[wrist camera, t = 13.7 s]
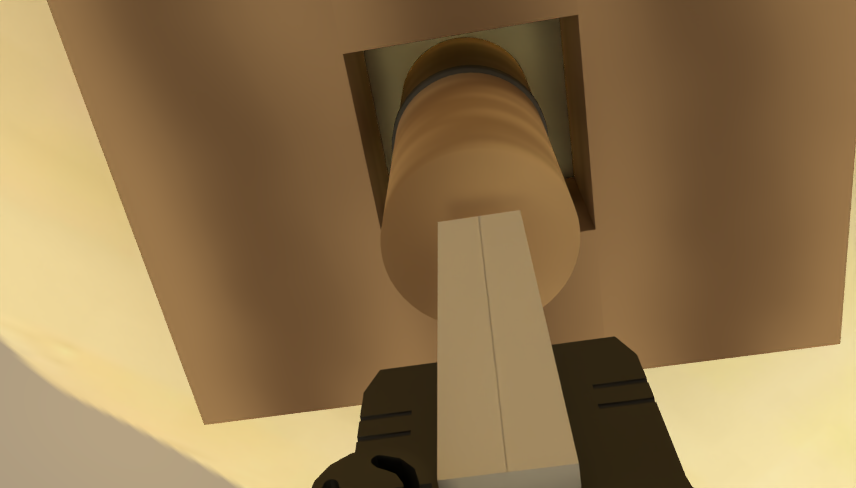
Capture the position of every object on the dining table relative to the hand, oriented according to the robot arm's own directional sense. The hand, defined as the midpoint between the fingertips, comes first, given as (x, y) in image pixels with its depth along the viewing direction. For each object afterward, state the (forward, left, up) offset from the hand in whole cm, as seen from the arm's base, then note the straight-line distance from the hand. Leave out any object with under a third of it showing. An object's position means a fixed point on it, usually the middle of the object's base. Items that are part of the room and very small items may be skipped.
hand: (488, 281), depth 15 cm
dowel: (0, 0, -11) cm, 11 cm away
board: (0, 0, -11) cm, 11 cm away
